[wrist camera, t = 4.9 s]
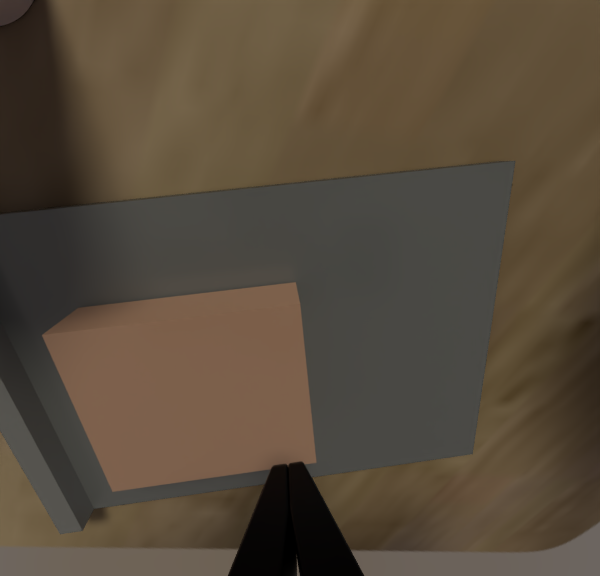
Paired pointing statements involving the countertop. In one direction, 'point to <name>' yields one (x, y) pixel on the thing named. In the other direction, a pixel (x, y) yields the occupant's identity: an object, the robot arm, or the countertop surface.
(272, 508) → the robot arm
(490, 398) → the countertop surface
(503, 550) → the countertop surface
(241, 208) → the slate board
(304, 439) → the tile
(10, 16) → the smoothie
